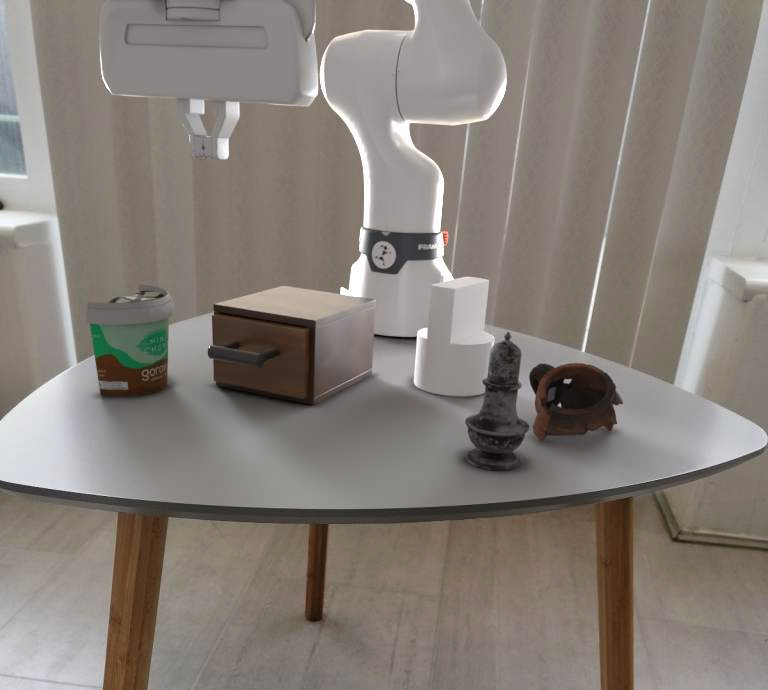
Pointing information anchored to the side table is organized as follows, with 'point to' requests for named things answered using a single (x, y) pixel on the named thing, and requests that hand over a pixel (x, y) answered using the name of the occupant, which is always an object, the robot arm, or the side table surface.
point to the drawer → (261, 354)
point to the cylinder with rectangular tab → (454, 339)
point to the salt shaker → (498, 412)
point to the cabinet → (317, 334)
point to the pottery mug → (572, 399)
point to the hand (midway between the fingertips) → (209, 158)
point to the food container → (131, 341)
